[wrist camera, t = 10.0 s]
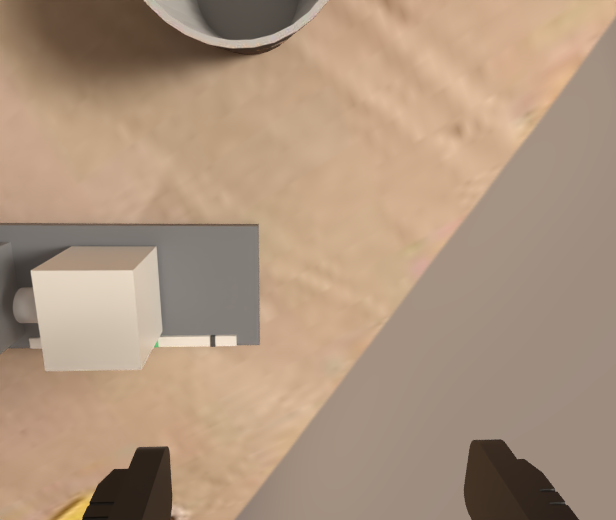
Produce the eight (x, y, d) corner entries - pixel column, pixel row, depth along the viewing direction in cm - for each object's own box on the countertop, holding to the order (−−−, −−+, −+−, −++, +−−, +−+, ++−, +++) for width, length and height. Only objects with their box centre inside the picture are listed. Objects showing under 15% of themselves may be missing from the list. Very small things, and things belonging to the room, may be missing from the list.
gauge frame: (-4, 344, 31) (-63, 390, 25) (-25, 223, 29) (-94, 245, 23) (259, 340, 32) (256, 384, 27) (258, 224, 30) (255, 246, 24)
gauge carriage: (51, 348, 30) (9, 390, 25) (37, 246, 28) (-12, 270, 24) (163, 346, 31) (142, 387, 26) (156, 246, 29) (132, 270, 24)
